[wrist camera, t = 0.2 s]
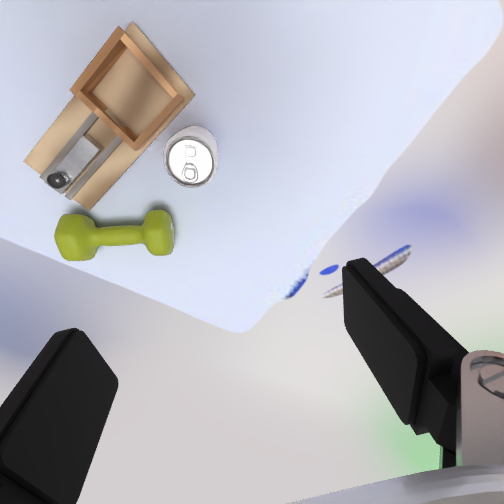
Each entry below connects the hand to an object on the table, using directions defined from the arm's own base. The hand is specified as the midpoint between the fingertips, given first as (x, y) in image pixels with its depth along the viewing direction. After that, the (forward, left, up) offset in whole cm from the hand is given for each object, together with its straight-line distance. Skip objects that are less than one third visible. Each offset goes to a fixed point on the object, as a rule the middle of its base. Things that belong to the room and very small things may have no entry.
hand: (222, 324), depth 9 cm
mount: (-13, -8, -36) cm, 39 cm away
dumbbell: (-2, -19, -37) cm, 41 cm away
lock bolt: (-13, -15, -35) cm, 40 cm away
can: (-3, -1, -37) cm, 37 cm away
